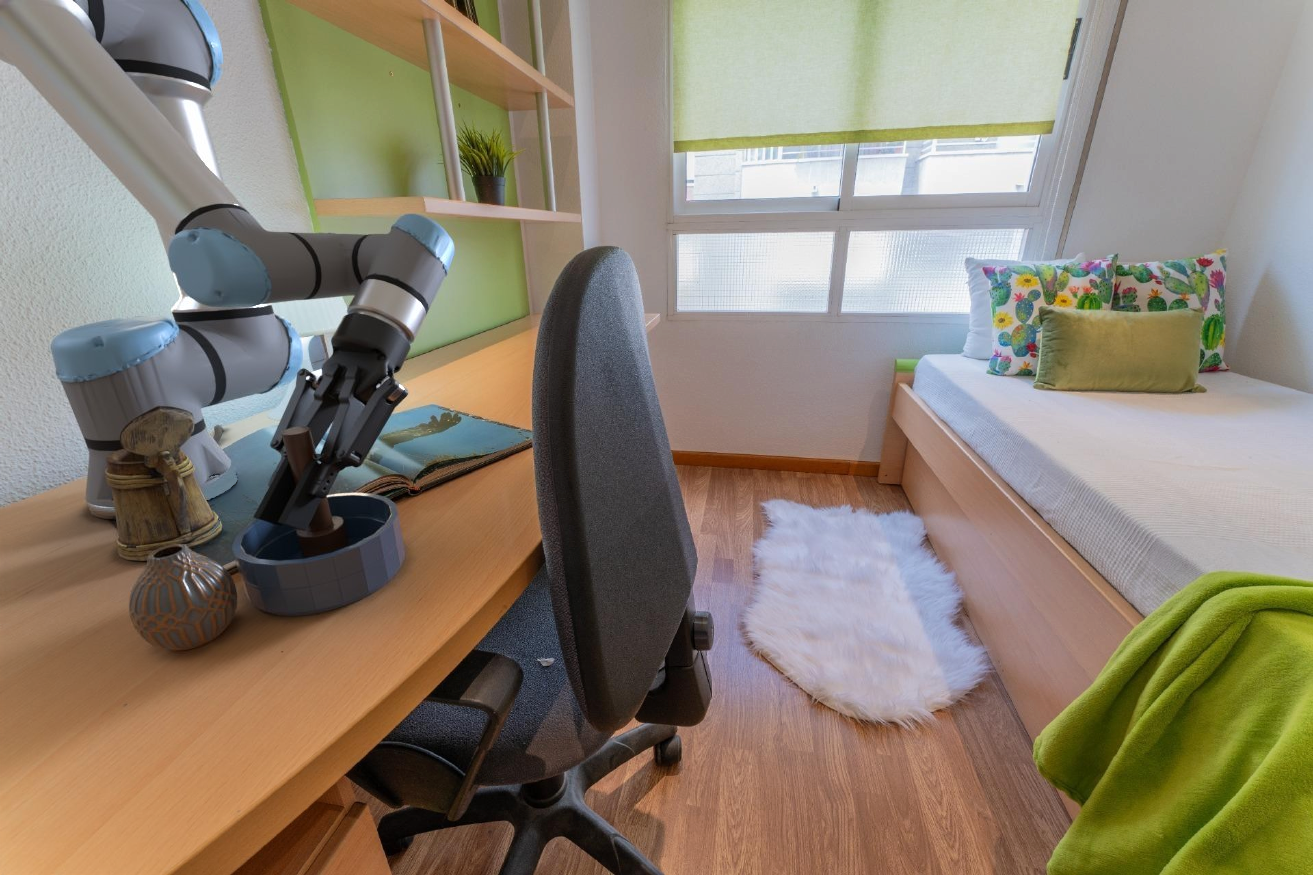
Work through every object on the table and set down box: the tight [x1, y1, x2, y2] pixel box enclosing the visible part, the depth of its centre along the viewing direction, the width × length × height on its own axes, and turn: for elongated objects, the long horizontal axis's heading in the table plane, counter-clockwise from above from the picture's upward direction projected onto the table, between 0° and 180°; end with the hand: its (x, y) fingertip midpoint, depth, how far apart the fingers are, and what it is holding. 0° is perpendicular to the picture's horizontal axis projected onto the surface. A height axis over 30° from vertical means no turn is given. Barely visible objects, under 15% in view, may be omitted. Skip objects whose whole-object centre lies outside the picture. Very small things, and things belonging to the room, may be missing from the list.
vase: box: [128, 544, 238, 651], centre depth 45 cm, size 7×7×9 cm
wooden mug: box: [105, 406, 223, 562], centre depth 57 cm, size 9×14×18 cm, turn 61°
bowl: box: [231, 492, 406, 617], centre depth 55 cm, size 14×14×6 cm
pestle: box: [281, 426, 350, 559], centre depth 54 cm, size 4×4×15 cm
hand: (280, 523), depth 51 cm, fingers closed on pestle, 2 cm apart
